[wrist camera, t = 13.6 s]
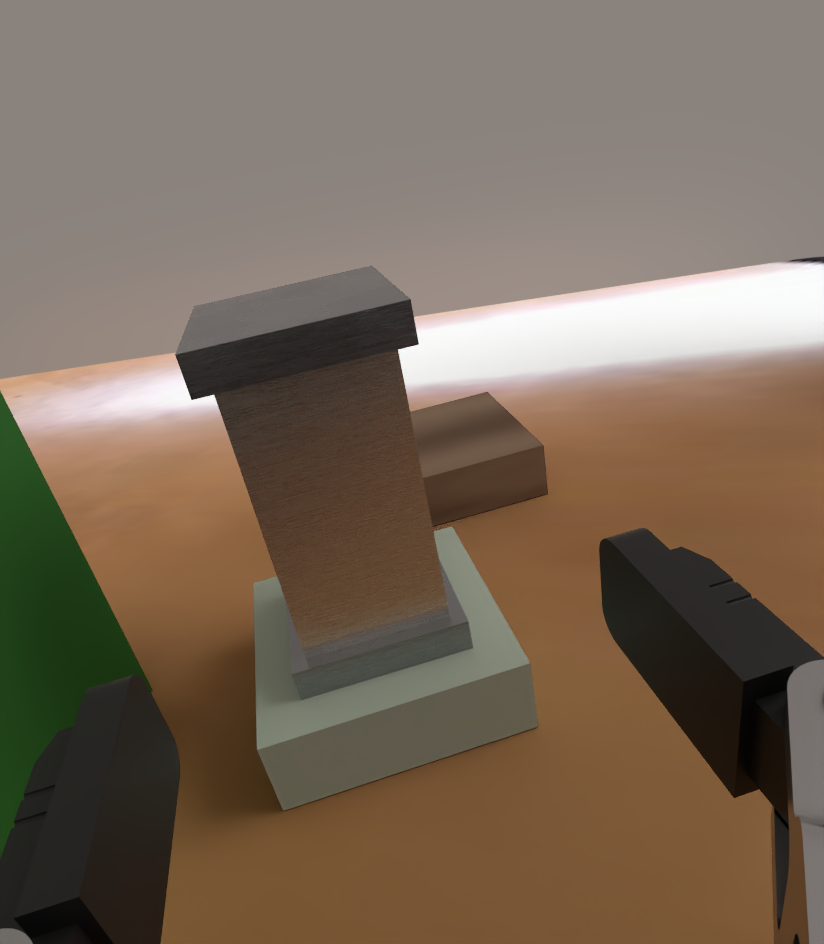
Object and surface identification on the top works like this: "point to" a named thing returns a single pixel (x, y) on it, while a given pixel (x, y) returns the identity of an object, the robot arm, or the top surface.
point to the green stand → (388, 698)
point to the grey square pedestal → (331, 470)
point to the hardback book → (44, 621)
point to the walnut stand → (476, 458)
